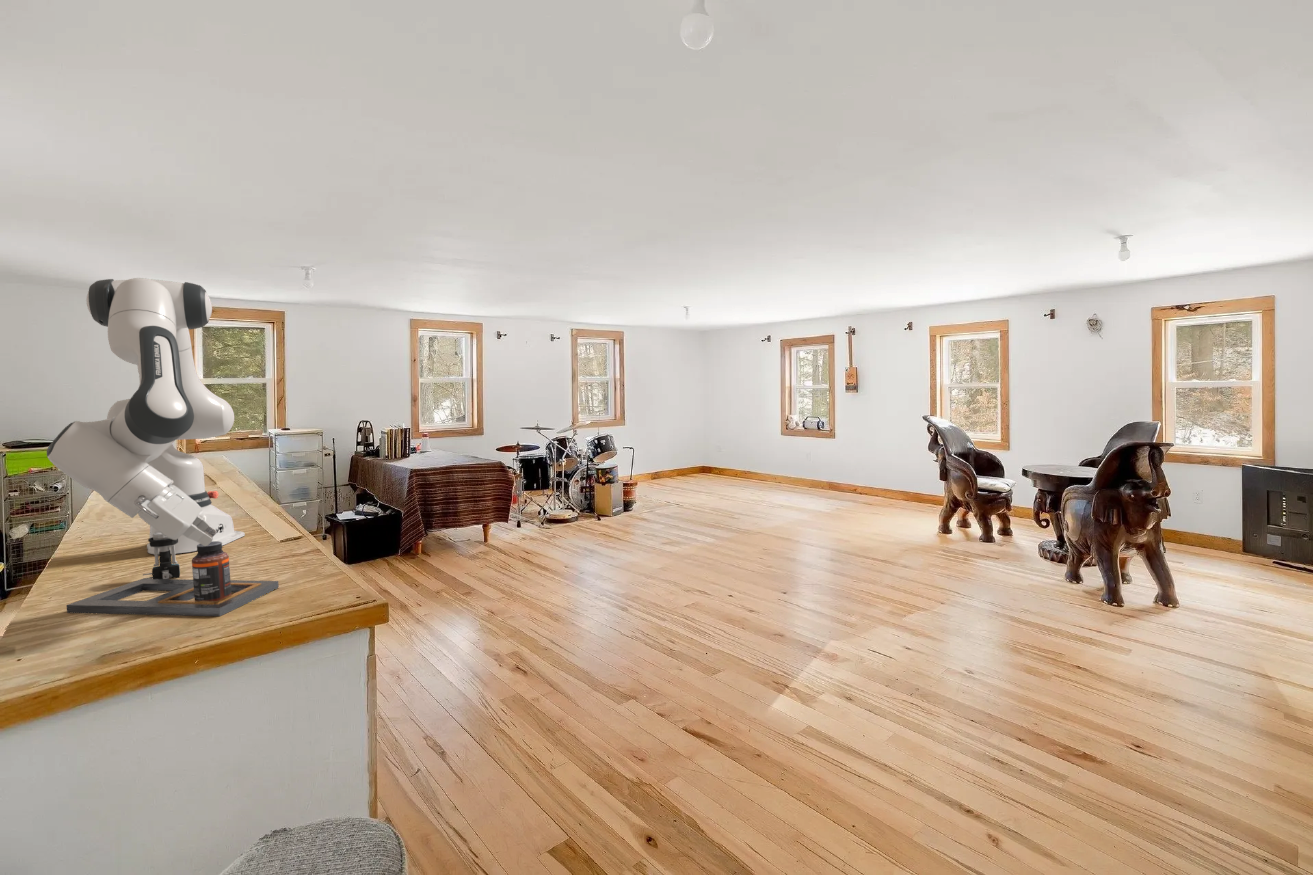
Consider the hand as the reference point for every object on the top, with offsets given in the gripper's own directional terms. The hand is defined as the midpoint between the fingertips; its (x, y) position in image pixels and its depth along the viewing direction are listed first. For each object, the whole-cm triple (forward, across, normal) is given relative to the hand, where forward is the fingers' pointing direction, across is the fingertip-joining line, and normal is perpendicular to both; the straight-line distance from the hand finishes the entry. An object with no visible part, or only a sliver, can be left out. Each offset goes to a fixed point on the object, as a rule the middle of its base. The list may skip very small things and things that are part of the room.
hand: (212, 538), depth 124 cm
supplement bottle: (+8, 0, +9) cm, 12 cm away
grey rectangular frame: (+4, +4, +13) cm, 14 cm away
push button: (0, +23, +17) cm, 29 cm away
